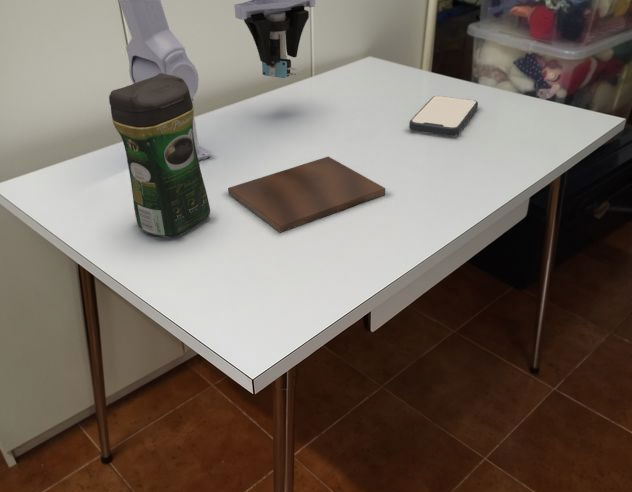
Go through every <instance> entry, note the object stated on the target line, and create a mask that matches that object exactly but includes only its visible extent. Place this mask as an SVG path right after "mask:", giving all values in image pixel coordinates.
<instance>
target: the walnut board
mask: <svg viewBox="0 0 632 492" xmlns="http://www.w3.org/2000/svg"><path fill="white" fill-rule="evenodd" d="M227 193H228V195H229V196H231V197H232V198H233V199H235V201H237V202H239V203H240V204H241V205H243V207H245V208H247V209H248V211H251V212H252V213H253V214H254V215H256V216H257V217H258V218H260V219H261V220H263V221H264V222H265V223H267V225H269V226H271V227H272V228H273V229H275V230H276V231H277V232H279V233H283V232H286V231H289V230H291V229H293V228H297V227H299V226H302V225H305V224H308V223H310V222H313V221H315V220H318V219H322V218H324V217H327V216H329V215H332V214H336V213H338V212H341V211H343V210H346V209H349V208H351V207H355V206H357V205H360V204H362V203H366V202H368V201H371V200H374V199H376V198H379V197H382V196H384V195H386V187H384V186H383V185H380V184H379V183H377V182H375V181H373V180H372V179H370V178H368V177H366V176H364V175H362V174H361V173H359V172H357V171H355V170H353V169H352V168H350V167H348V166H347V165H344V164H342V163H341V162H339V161H338V160H336V159H334V158H332V157H330V156H325V157H322V158H319V159H315V160H312V161H310V162H309V161H308V162H306V163H303V164H300V165H297V166H293V167H289V168H287V169H283V170H280V171H277V172H275V173H271V174H268V175H265V176H264V175H263V176H261V177H258V178H255V179H252V180H249V181H245V182H242V183H239V184H236V185H232V186H229V187H228V188H227Z"/></svg>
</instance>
